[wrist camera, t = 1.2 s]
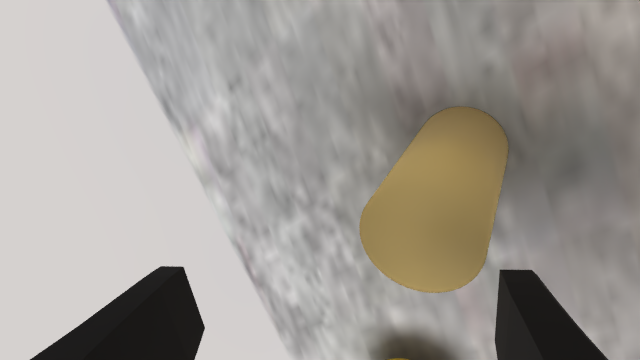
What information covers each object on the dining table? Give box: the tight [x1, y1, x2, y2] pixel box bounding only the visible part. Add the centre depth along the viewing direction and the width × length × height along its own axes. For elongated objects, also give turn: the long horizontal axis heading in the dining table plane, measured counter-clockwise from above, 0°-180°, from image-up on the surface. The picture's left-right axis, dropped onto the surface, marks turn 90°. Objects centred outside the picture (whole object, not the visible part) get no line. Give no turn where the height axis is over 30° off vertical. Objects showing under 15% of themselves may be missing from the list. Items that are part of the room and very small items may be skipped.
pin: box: [360, 107, 508, 293], centre depth 15 cm, size 4×4×7 cm
